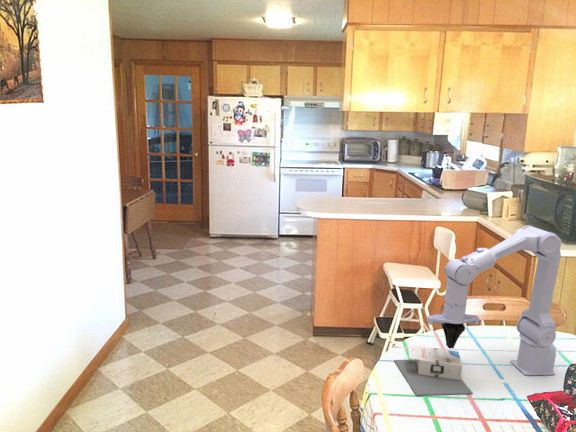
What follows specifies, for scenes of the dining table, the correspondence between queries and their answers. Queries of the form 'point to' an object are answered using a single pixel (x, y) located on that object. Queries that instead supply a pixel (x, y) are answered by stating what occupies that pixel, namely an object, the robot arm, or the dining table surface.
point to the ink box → (437, 362)
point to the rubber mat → (430, 381)
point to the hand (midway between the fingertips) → (449, 346)
